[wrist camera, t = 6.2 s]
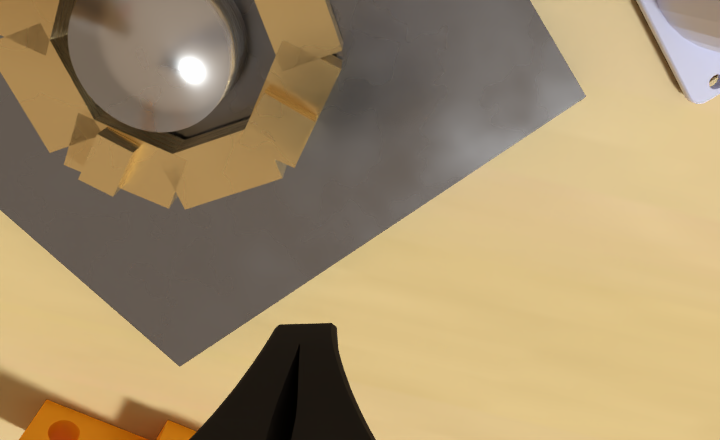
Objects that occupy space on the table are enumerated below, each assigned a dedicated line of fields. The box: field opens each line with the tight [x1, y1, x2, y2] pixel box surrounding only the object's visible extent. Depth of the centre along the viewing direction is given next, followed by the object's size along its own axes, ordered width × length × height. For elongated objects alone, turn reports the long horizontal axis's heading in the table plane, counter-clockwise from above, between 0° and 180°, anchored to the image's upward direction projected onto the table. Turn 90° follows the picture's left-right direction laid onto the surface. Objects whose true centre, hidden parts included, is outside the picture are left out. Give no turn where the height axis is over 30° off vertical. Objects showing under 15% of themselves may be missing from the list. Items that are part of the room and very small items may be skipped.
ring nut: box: [0, 0, 343, 210], centre depth 16 cm, size 11×10×6 cm
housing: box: [0, 0, 586, 366], centre depth 18 cm, size 20×20×4 cm
